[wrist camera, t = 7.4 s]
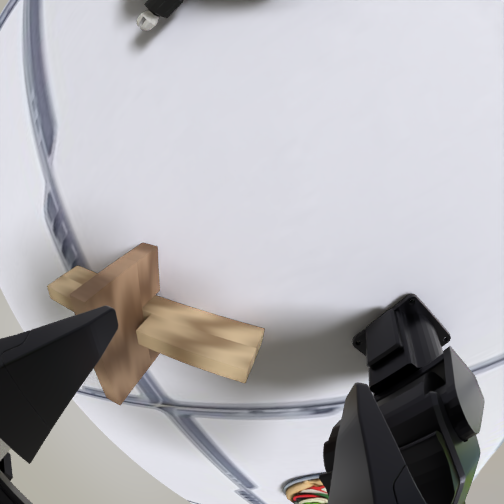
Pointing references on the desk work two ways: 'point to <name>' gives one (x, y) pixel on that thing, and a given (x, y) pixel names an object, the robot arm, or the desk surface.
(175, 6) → the robot toy
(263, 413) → the desk surface
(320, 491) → the toy pizza
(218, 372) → the oak board
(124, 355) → the brown tapered flat block
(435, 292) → the desk surface
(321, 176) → the desk surface
